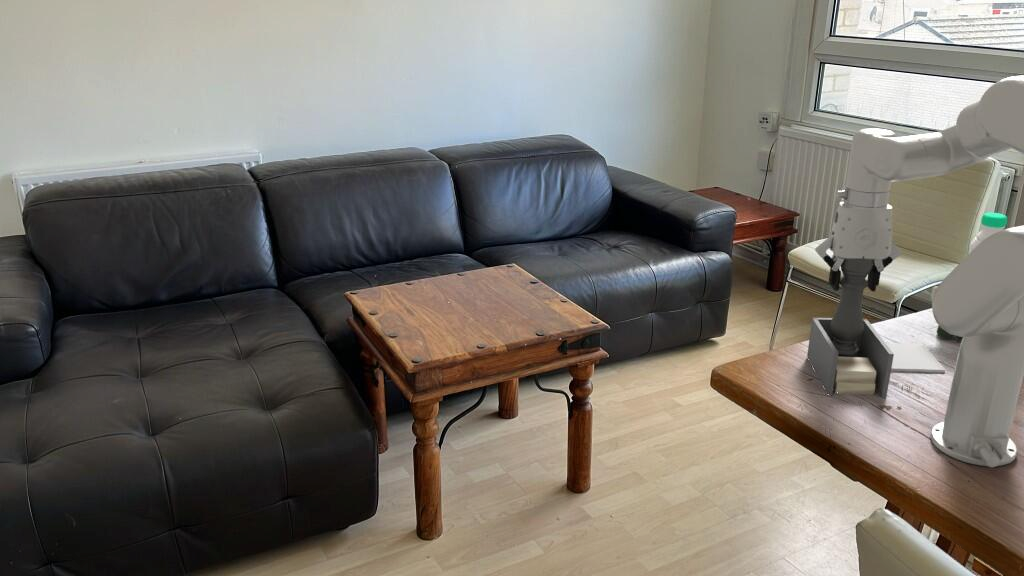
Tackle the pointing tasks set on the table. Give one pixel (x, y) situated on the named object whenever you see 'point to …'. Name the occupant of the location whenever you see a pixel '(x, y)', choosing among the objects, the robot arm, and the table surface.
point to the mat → (913, 358)
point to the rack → (869, 347)
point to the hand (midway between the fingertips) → (852, 287)
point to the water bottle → (989, 227)
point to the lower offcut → (854, 388)
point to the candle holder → (850, 307)
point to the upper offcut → (855, 370)
